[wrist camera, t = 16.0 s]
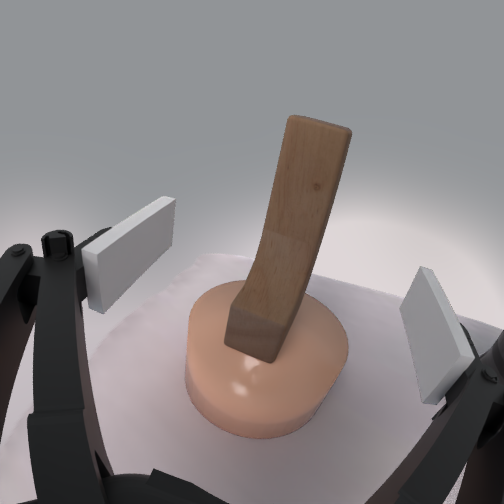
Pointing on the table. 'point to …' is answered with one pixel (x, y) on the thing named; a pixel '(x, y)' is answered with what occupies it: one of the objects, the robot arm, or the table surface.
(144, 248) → the robot arm
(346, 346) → the peach disc
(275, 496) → the table surface
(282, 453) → the table surface
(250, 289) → the wooden block
